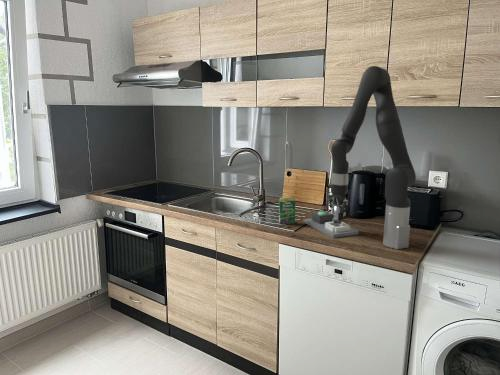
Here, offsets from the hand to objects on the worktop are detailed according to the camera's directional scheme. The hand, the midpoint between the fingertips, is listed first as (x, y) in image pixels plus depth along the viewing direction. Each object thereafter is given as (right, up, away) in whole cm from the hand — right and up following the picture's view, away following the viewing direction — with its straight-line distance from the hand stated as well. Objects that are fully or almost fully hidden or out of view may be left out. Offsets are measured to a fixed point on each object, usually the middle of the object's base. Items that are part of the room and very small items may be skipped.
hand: (337, 218), depth 170 cm
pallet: (-2, -5, +7) cm, 8 cm away
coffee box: (-22, -4, +13) cm, 26 cm away
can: (+7, -1, +27) cm, 28 cm away
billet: (0, -2, 0) cm, 2 cm away
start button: (-5, -1, +12) cm, 13 cm away
